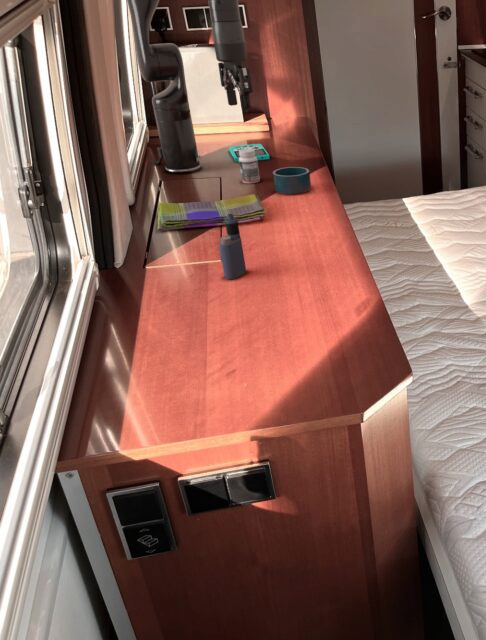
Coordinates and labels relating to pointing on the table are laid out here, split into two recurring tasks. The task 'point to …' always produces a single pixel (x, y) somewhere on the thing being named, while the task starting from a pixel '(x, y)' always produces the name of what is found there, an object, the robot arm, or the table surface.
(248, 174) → the pill bottle
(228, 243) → the vaping device
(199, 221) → the dish towel
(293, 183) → the bowl
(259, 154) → the handheld game console
